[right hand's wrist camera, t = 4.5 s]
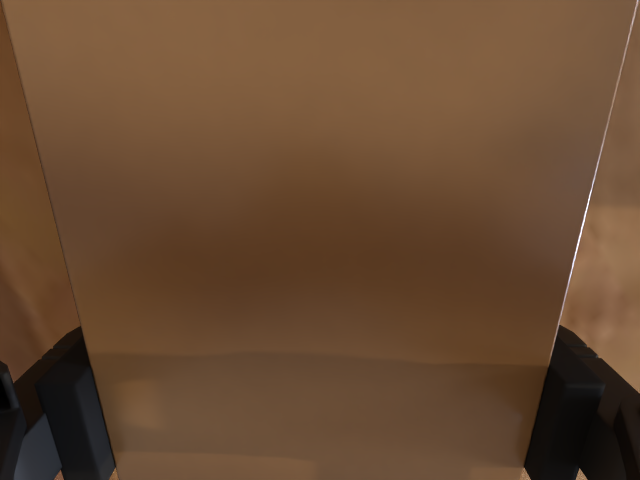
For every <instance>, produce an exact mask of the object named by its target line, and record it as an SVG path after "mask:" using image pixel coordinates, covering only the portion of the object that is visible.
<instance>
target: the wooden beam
mask: <svg viewBox="0 0 640 480" xmlns="http://www.w3.org/2000/svg"><path fill="white" fill-rule="evenodd" d="M638 3H639V0H1V4H2V8H3V12H4V16H5V20H6V24H7V28H8V33H9V37H10V41H11V45H12V49H13V53H14V57H15V61H16V65H17V69H18V73H19V77H20V81H21V85H22V89H23V93H24V97H25V101H26V105H27V109H28V114H29V118H30V122H31V126H32V130H33V134H34V138H35V142H36V146H37V150H38V154H39V158H40V162H41V166H42V170H43V174H44V178H45V182H46V186H47V190H48V195H49V199H50V203H51V207H52V211H53V215H54V219H55V223H56V227H57V231H58V235H59V239H60V243H61V247H62V251H63V255H64V259H65V263H66V267H67V271H68V276H69V280H70V284H71V288H72V292H73V296H74V300H75V304H76V308H77V312H78V316H79V320H80V324H81V328H82V332H83V336H84V340H85V344H86V348H87V352H88V357H89V361H90V365H91V369H92V373H93V377H94V381H95V385H96V389H97V393H98V397H99V401H100V405H101V409H102V413H103V417H104V421H105V425H106V429H107V433H108V438H109V442H110V446H111V450H112V454H113V458H114V462H115V466H116V470H117V474H118V478H119V480H521V477H522V473H523V469H524V465H525V461H526V457H527V452H528V448H529V444H530V440H531V436H532V432H533V428H534V424H535V420H536V416H537V412H538V408H539V404H540V400H541V396H542V392H543V388H544V384H545V380H546V376H547V371H548V367H549V363H550V359H551V355H552V351H553V347H554V343H555V339H556V335H557V331H558V327H559V323H560V319H561V315H562V311H563V307H564V303H565V299H566V294H567V290H568V286H569V282H570V278H571V274H572V270H573V266H574V262H575V258H576V254H577V250H578V246H579V242H580V238H581V234H582V230H583V226H584V222H585V218H586V213H587V209H588V205H589V201H590V197H591V193H592V189H593V185H594V181H595V177H596V173H597V169H598V165H599V161H600V157H601V153H602V149H603V145H604V141H605V136H606V132H607V128H608V124H609V120H610V116H611V112H612V108H613V104H614V100H615V96H616V92H617V88H618V84H619V80H620V76H621V72H622V68H623V64H624V60H625V55H626V51H627V47H628V43H629V39H630V35H631V31H632V27H633V23H634V19H635V15H636V11H637V7H638Z"/></svg>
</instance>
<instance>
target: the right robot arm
mask: <svg viewBox="0 0 640 480" xmlns="http://www.w3.org/2000/svg"><path fill="white" fill-rule="evenodd" d="M115 467H116V466H115V462H114V458H113V454H112V450H111V446H110V442H109V438H108V433H107V429H106V425H105V421H104V417H103V413H102V409H101V405H100V401H99V397H98V393H97V389H96V385H95V381H94V377H93V373H92V369H91V365H90V361H89V357H88V352H87V348H86V344H85V340H84V336H83V332H82V328H81V326H80V327H78V328H76V329H74V330H72V331H71V332H69V333H67V334H66V335H65V336H64V337H63V338H62V339H61V340H60V341H58V342H57V343H56V344H55V345H54V346H53V349H50V350H49V351H48V352H47V353H46V354H45V355H43V356H42V359H41V360H38V361H37V362H36V363H35V364H34V365H33V366H32V367H31V368H30V369H28V370H27V371H26V372H25V373H24V374H23V375H22V376H21V377H20V378H19V379H18V380H17V381H16V382H15V383H13V381H12V378H11V375H10V372H9V369H8V366H7V365H6V364H5V363H3V362H1V361H0V480H54V478H55V477H56V475H57V474H58V472H59V471H60V470H61V472H62V475H63V478H64V480H109V478H110V476H111V474H112V473H113V471H114V469H115ZM524 468H525V469H526V471H527V473H528V475H529V477H530V478H531V480H576V477H577V474H578V471H579V468H580V469H581V471H582V472H583V474H584V475H585V476H586V478H587V479H588V480H640V394H639V393H638V392H637V391H636V390H635V389H634V388H633V387H632V386H631V385H630V384H629V383H627V382H626V381H625V380H624V379H623V378H622V377H621V376H620V375H619V374H618V373H617V372H616V371H614V370H613V369H612V368H611V367H610V366H609V365H608V364H607V363H606V362H605V361H604V360H603V359H602V358H598V355H597V354H596V353H595V352H594V351H593V350H592V349H591V348H590V347H587V345H586V344H585V343H584V342H583V341H582V340H581V339H580V338H579V337H578V336H577V335H576V334H575V333H573V332H572V331H570V330H568V329H567V328H565V327H563V326H561V325H559V327H558V331H557V335H556V339H555V343H554V347H553V351H552V355H551V359H550V363H549V367H548V371H547V376H546V380H545V384H544V388H543V392H542V396H541V400H540V404H539V408H538V412H537V416H536V420H535V424H534V428H533V432H532V436H531V440H530V444H529V448H528V452H527V457H526V461H525V465H524Z"/></svg>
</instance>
